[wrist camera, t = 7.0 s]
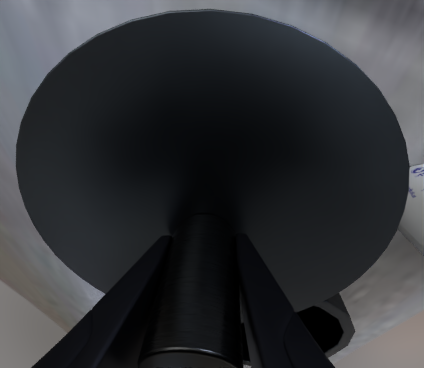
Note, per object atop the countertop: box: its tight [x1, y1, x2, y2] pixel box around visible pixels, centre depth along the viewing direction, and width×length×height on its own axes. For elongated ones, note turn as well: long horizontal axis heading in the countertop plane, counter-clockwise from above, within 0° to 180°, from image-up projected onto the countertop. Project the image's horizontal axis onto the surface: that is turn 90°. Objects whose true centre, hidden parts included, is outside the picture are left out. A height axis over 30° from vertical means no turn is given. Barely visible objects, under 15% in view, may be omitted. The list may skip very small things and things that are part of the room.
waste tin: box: [241, 293, 355, 366], centre depth 22 cm, size 14×14×6 cm
